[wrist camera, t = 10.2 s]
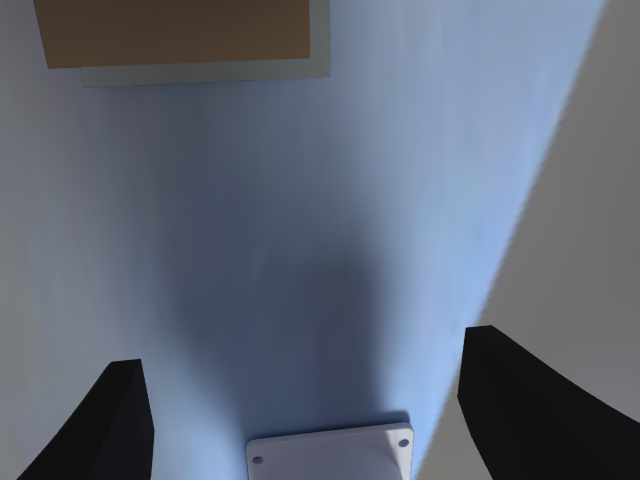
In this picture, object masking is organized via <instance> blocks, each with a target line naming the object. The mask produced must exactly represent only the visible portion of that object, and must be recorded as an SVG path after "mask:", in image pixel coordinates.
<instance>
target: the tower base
mask: <svg viewBox="0 0 640 480" xmlns="http://www.w3.org/2000/svg"><path fill="white" fill-rule="evenodd" d="M309 14H310V58H307V59H282V60H256V61H230V62H205V63H179V64H154V65H128V66H102V67H80V69H81V74H82V79H83V84H84V88H90V87H113V86H136V85H159V84H182V83H205V82H228V81H251V80H274V79H298V78H321V77H330V19H329V0H309Z"/></svg>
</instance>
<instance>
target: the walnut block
mask: <svg viewBox="0 0 640 480" xmlns="http://www.w3.org/2000/svg"><path fill="white" fill-rule="evenodd" d="M33 2H34V6H35V11H36V15H37V20H38V24H39V29H40V34H41V38H42V43H43V47H44V52H45V56H46V61H47V65H48V69H51V68H77V67H102V66H128V65H154V64H179V63H205V62H230V61H256V60H282V59H307V58H310V14H309V0H33Z"/></svg>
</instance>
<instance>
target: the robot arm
mask: <svg viewBox="0 0 640 480" xmlns="http://www.w3.org/2000/svg"><path fill="white" fill-rule="evenodd" d="M457 398H458V401H459V404H460V406H461V409H462V412H463V415H464V418H465V421H466V423H467V426H468V429H469V432H470V434H471V437H472V439H473V441H474V443H475V445H476V447H477V449H478V451H479V453H480V455H481V457H482V459H483V461H484V463H485V465H486V467H487V469H488V471H489V473H490V475H491V477H492V479H493V480H640V423H639V422H637V421H635V420H633V419H631V418H629V417H628V416H626V415H624V414H622V413H620V412H619V411H617V410H615V409H614V408H612V407H610V406H609V405H607V404H605V403H604V402H602V401H601V400H599V399H597V398H596V397H594V396H593V395H591V394H589V393H588V392H586V391H585V390H583V389H581V388H580V387H579V386H577V385H575V384H574V383H572V382H571V381H569V380H568V379H567V378H565V377H564V376H562V375H561V374H559V373H558V372H556V371H555V370H554V369H552V368H550V367H549V366H548V365H546V364H545V363H544V362H542V361H541V360H539V359H538V358H537V357H535V356H534V355H533V354H531V353H530V352H528V351H527V350H526V349H524V348H523V347H522V346H520V345H519V344H517V343H516V342H514V341H513V340H512V339H511V338H509V337H508V336H506V335H505V334H503V333H502V332H501V331H499V330H498V329H496V328H495V327H493V326H492V325H488V326H478V327H467V328H466V330H465V338H464V346H463V354H462V362H461V370H460V379H459V387H458V395H457ZM403 439H405V440H403ZM401 440H403V441H401ZM413 442H414V430H413V428H412V426H411V425H410V424H409V423H404V422H402V423H394V424H385V425H376V426H367V427H359V428H350V429H341V430H332V431H324V432H315V433H306V434H297V435H289V436H280V437H271V438H262V439H255V440H252V441H250V442H249V443H248V444H247V447H246V454H247V464H248V475H249V480H410V479H411V466H412V454H413ZM153 445H154V425H153V420H152V415H151V410H150V404H149V399H148V394H147V389H146V384H145V378H144V373H143V368H142V363H141V359H135V360H124V361H114V362H111V363H110V364H109V365H108V366H107V367H106V368H105V370H104V371H103V373H102V374H101V375H100V377H99V378H98V380H97V381H96V382H95V384H94V385H93V387H92V388H91V389H90V391H89V392H88V394H87V395H86V396H85V398H84V399H83V400H82V402H81V403H80V404H79V406H78V407H77V408H76V410H75V411H74V412H73V413H72V415H71V416H70V417H69V419H68V420H67V421H66V422H65V424H64V425H63V426H62V427H61V429H60V430H59V431H58V433H57V434H56V435H55V436H54V437H53V439H52V440H51V441H50V442H49V443H48V445H47V446H46V447H45V448H44V449H43V450H42V451H41V453H40V454H39V455H38V456H37V457H36V458H35V460H34V461H33V462H32V463H31V464H30V465H29V466H28V468H27V469H26V470H25V471H24V472H23V473H22V474H21V475H20V476H19V477H18V478H17V479H16V480H150V478H151V470H152V459H153ZM257 456H259V457H260V458H255V457H257Z"/></svg>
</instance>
